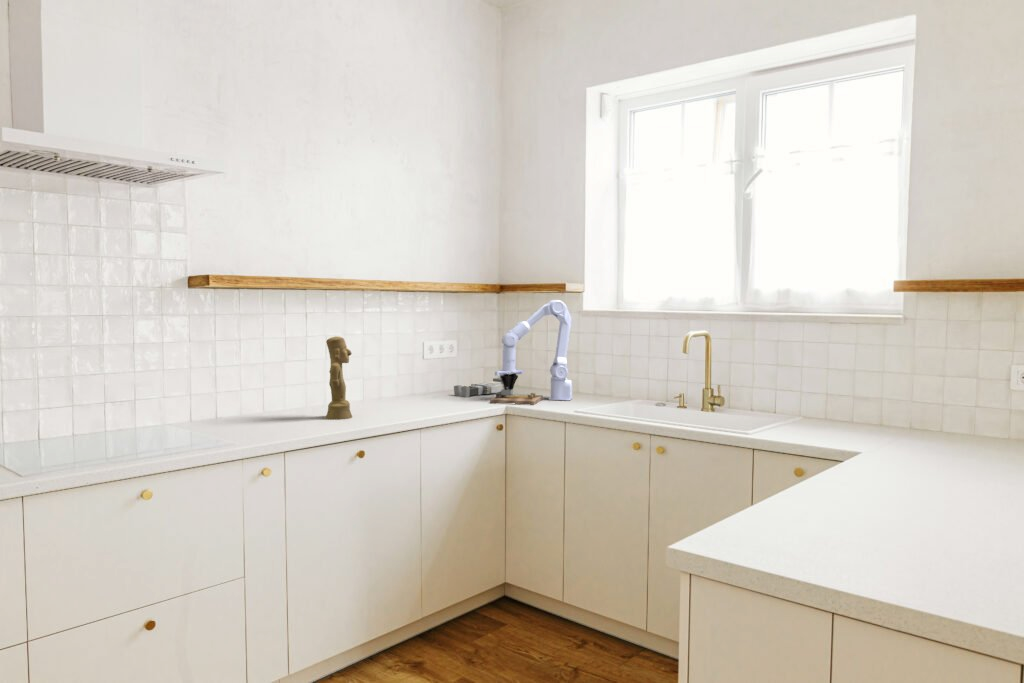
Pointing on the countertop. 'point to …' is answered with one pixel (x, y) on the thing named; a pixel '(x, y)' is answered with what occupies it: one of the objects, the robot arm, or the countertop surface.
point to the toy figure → (479, 388)
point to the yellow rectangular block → (516, 396)
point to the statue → (338, 379)
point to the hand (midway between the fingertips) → (508, 391)
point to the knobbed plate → (507, 391)
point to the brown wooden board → (517, 399)
